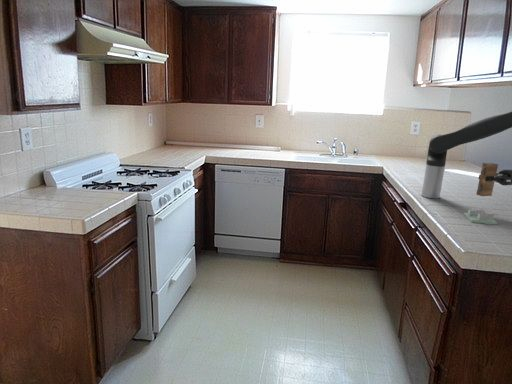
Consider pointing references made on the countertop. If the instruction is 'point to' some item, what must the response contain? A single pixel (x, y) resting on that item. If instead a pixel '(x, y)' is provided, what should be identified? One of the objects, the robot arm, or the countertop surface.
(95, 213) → the countertop surface
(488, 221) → the hinge base
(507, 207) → the countertop surface
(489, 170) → the door
